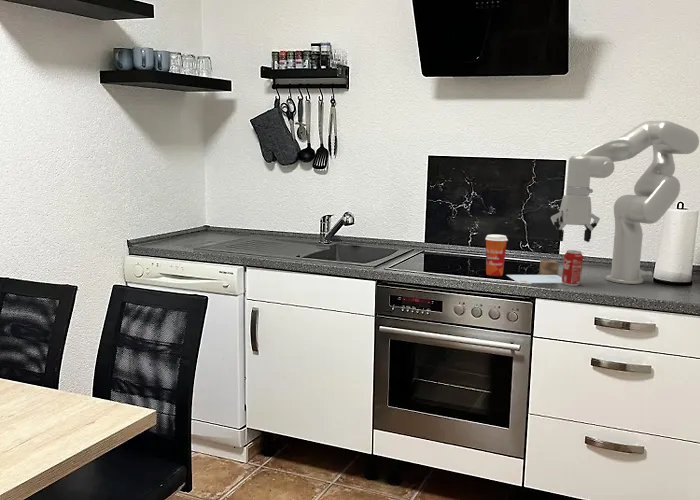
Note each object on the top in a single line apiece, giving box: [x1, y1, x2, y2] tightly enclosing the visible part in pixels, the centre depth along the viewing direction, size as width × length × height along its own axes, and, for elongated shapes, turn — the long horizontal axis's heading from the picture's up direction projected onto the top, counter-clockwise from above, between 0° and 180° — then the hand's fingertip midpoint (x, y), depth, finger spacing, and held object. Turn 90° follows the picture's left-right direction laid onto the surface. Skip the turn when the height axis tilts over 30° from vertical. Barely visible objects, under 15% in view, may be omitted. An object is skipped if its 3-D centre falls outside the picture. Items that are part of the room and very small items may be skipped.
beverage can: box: [561, 249, 584, 287], centre depth 244 cm, size 6×6×12 cm
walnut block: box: [539, 259, 559, 275], centre depth 266 cm, size 5×5×5 cm
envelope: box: [505, 274, 564, 284], centre depth 254 cm, size 20×15×1 cm
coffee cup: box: [484, 233, 509, 277], centre depth 260 cm, size 8×8×15 cm
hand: (573, 241), depth 243 cm, fingers open, 9 cm apart
